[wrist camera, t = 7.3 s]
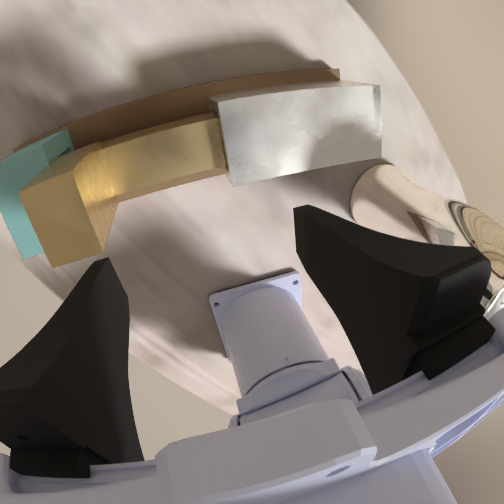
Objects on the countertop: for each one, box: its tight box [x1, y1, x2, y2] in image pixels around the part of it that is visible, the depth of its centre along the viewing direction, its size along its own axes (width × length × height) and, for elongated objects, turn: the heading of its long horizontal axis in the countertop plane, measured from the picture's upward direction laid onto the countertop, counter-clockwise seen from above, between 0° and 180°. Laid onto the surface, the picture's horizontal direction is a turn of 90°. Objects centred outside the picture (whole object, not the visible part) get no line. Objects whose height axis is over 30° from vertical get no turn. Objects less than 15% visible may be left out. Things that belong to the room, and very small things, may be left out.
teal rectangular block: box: [0, 128, 74, 260], centre depth 15 cm, size 6×4×4 cm
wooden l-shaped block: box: [18, 111, 227, 268], centre depth 14 cm, size 4×13×8 cm, turn 98°
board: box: [13, 69, 340, 203], centre depth 18 cm, size 6×22×1 cm, turn 98°
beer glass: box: [350, 164, 504, 320], centre depth 19 cm, size 7×7×15 cm
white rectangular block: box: [206, 80, 381, 187], centre depth 17 cm, size 4×9×4 cm, turn 98°
